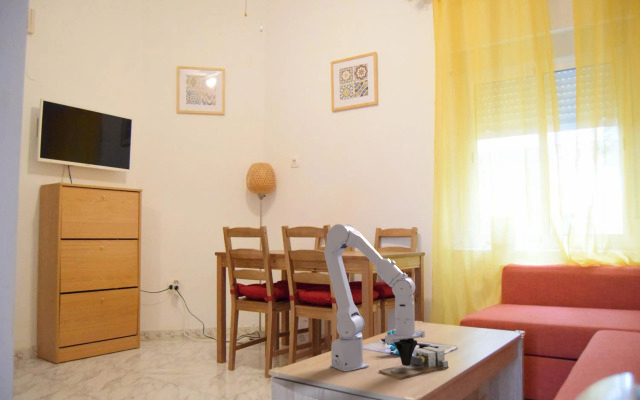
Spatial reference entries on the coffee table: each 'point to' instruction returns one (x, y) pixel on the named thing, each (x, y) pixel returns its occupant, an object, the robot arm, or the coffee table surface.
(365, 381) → the coffee table surface
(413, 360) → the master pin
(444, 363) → the link
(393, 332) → the gear
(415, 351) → the link
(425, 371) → the board
